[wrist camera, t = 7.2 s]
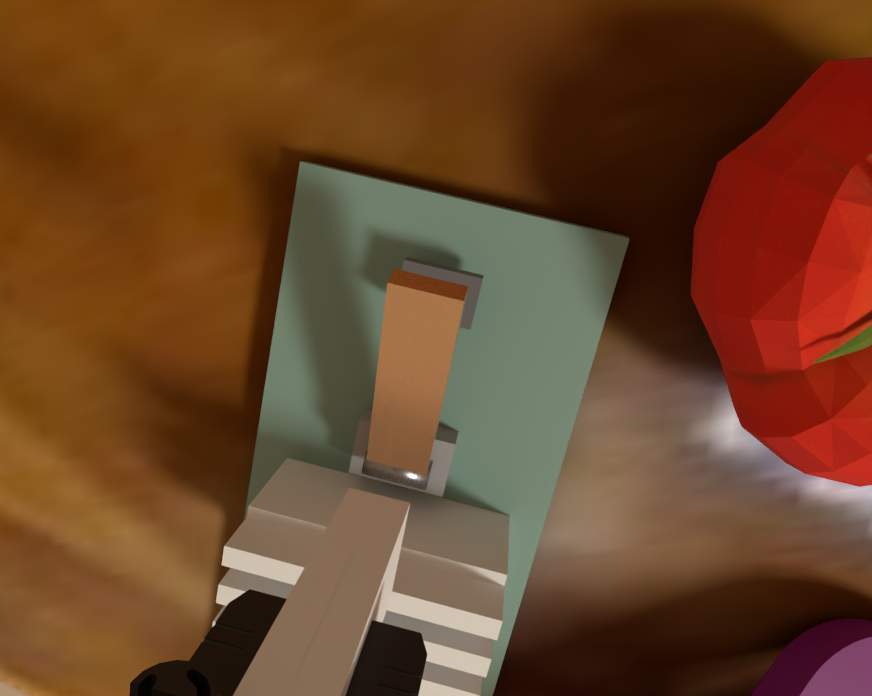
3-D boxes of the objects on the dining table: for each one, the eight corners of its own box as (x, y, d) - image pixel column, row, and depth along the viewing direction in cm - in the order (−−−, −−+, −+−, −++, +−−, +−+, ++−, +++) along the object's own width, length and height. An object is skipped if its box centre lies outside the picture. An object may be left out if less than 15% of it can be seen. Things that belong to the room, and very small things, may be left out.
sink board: (309, 161, 27) (232, 159, 20) (625, 235, 27) (663, 261, 19) (217, 736, 36) (138, 881, 29) (455, 804, 35) (437, 972, 28)
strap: (392, 264, 21) (382, 285, 20) (472, 283, 21) (466, 305, 20) (368, 457, 28) (360, 480, 27) (430, 473, 28) (424, 496, 27)
